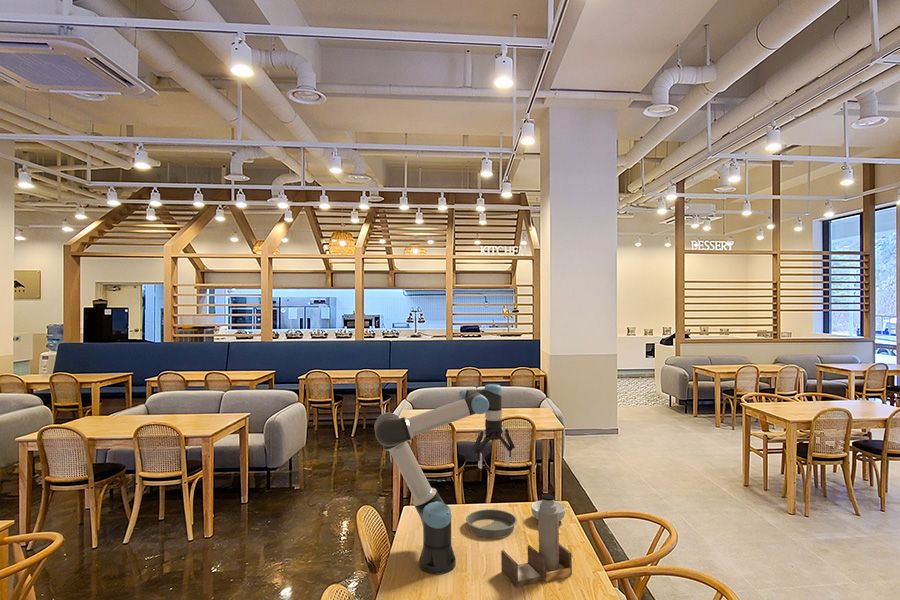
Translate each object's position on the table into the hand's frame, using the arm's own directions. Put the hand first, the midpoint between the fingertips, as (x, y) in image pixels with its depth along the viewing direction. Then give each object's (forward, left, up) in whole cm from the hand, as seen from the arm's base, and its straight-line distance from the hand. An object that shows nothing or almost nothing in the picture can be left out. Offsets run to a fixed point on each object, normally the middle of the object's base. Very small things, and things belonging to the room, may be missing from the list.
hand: (493, 466), depth 223 cm
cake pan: (+6, +16, -35) cm, 39 cm away
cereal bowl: (+36, +13, -35) cm, 52 cm away
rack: (+5, -29, -35) cm, 45 cm away
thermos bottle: (+10, -29, -33) cm, 45 cm away
